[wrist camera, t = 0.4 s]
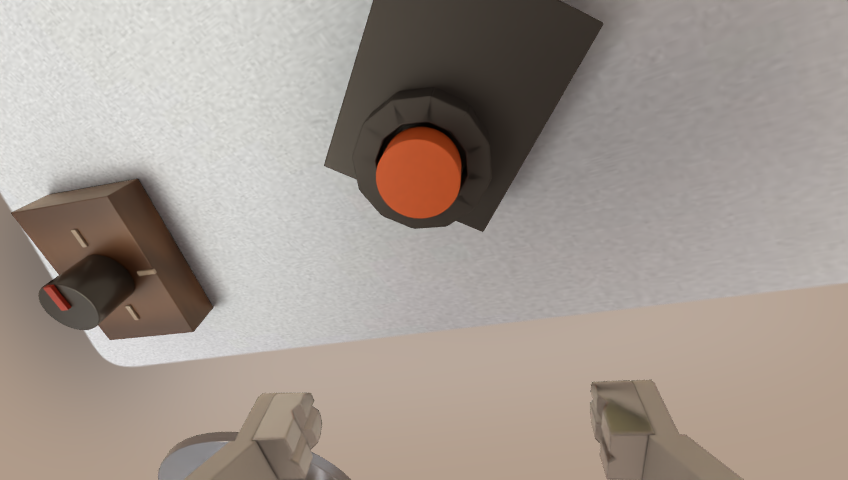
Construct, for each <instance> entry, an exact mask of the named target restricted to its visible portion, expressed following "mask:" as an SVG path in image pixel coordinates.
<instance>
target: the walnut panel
mask: <svg viewBox="0 0 848 480" xmlns="http://www.w3.org/2000/svg"><path fill="white" fill-rule="evenodd" d="M11 214H12V215H13V216H14V218H15V219H16V220H17V222H18V223H19V224H20V225H21V227H22V228H23V229H24V231H25V232H26V233H27V234H28V236H29V237H30V238H31V240H32V241H33V242H34V243H35V245H36V246H37V247H38V249H39V250H40V251H41V252H42V254H43V255H44V256H45V258H46V259H47V260H48V261H49V263H50V264H51V265H52V266H53V268H54V269H55V270H56V272H57V273H58V274H59V275H60V274H62V273H63V272H65V271H66V270H67V269H69V268H70V267H72V266H73V265H75V264H76V263H78V262H79V261H80V260H82V259H83V258H85V257H87V256H90V255H101V256H105V257H108V258H111V259H113V260H115V261H116V262H118V263H119V264H121V265H122V266H123V267H124V268H125V269H126V270H127V271H128V272H129V273H130V275H131V276H132V278H133V281H134V285H135V288H134V292H133V293H132V295H131V296H130V297H128V298H127V299H126V300H125V301H124V302H123V303H122V304H121V305H120V306H118V307H117V308H116V309H115V310H114V311H113V312H112V313H111V314H110V315H108V316H107V317H106V318H105V319H104V320H103V321H102V322H101V323H100V324H98V325H99V327H100V328H101V329H102V331H103V332H104V333H105V334H106V336H107V337H108V338H109V340H115V339H126V338H136V337H146V336H156V335H167V334H177V333H187V332H194V331H195V329H196V328H197V327H198V326H199V325H200V323H201V322H202V321H203V320H204V318H205V317H206V316H207V315H208V313H209V312H210V311H211V310H212V309H213V306H212V305H211V303H210V301H209V299H208V298H207V296H206V294H205V293H204V291H203V289H202V287H201V286H200V284H199V282H198V281H197V279H196V277H195V275H194V274H193V272H192V270H191V269H190V267H189V265H188V263H187V262H186V260H185V258H184V257H183V255H182V253H181V252H180V250H179V248H178V246H177V245H176V243H175V241H174V240H173V238H172V236H171V234H170V233H169V231H168V229H167V228H166V226H165V224H164V222H163V221H162V219H161V217H160V216H159V214H158V212H157V210H156V209H155V207H154V205H153V204H152V202H151V200H150V198H149V197H148V195H147V193H146V192H145V190H144V188H143V186H142V185H141V183H140V181H139V180H138V179H133V180H127V181H122V182H116V183H111V184H105V185H100V186H94V187H89V188H83V189H78V190H72V191H67V192H61V193H56V194H50V195H47V196H45V197H42V198H40V199H38V200H36V201H34V202H32V203H30V204H28V205H26V206H24V207H22V208H20V209H18V210H16V211H14V212H12V213H11Z"/></svg>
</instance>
